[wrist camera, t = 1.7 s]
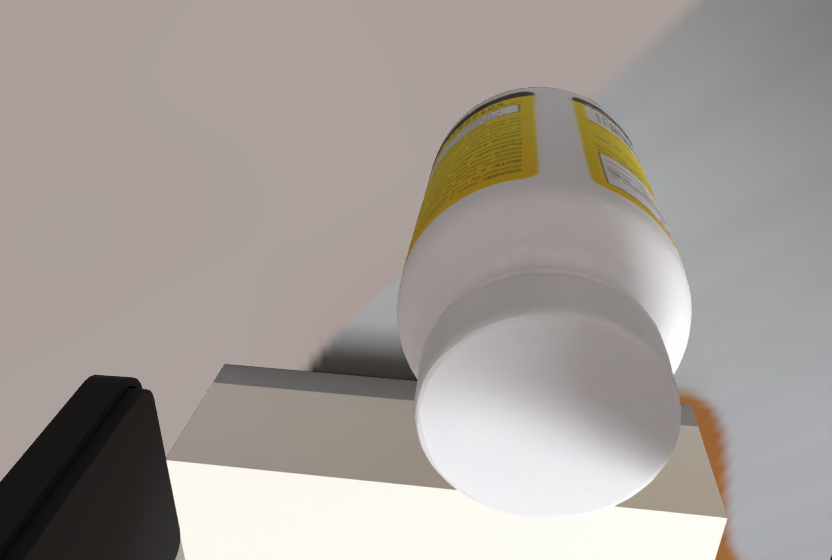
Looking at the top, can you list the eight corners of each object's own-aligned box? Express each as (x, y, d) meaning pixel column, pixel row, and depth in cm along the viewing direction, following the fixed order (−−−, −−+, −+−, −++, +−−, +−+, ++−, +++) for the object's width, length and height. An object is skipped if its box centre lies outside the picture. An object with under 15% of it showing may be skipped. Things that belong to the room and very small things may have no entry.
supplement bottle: (419, 256, 21) (347, 515, 12) (449, 65, 18) (385, 227, 10) (607, 291, 21) (667, 580, 12) (666, 103, 18) (797, 303, 9)
